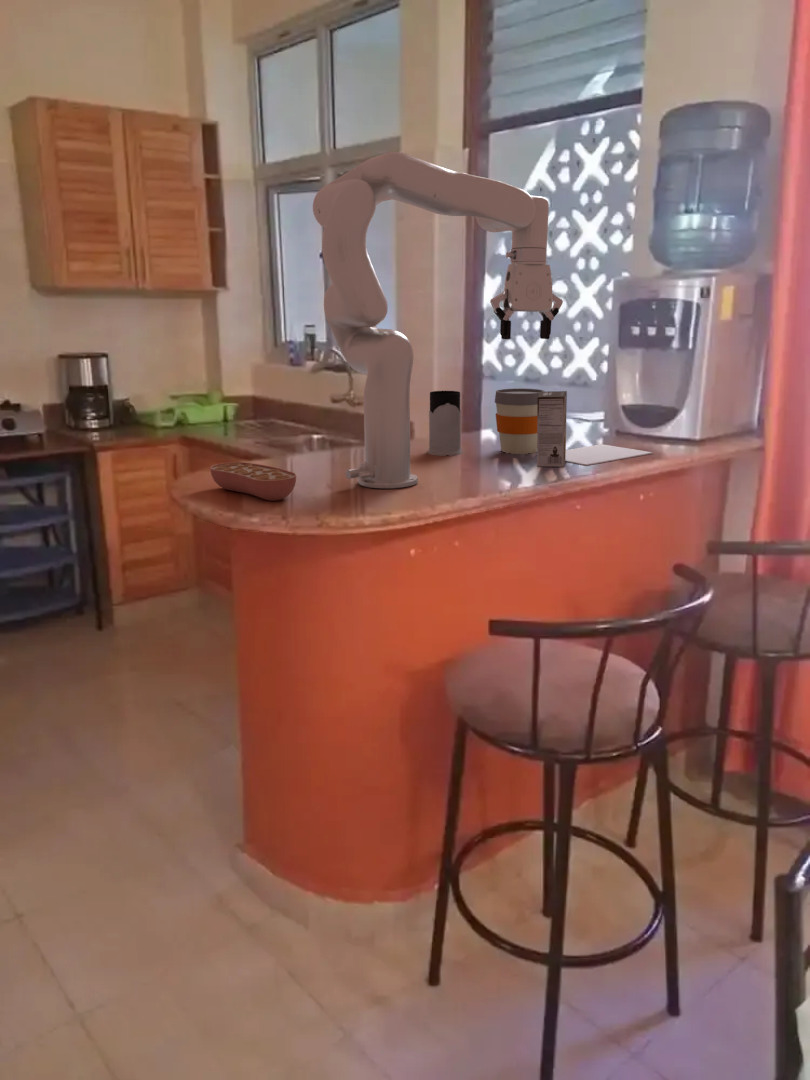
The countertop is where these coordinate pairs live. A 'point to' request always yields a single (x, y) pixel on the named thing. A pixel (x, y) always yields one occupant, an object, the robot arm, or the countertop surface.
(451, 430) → the glass holder
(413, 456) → the countertop surface
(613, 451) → the mat
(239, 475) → the brown oblong piece
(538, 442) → the coffee box
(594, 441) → the countertop surface
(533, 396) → the reusable coffee cup
